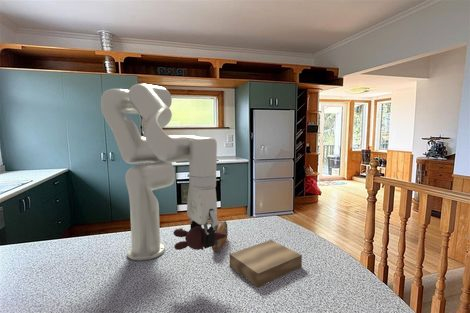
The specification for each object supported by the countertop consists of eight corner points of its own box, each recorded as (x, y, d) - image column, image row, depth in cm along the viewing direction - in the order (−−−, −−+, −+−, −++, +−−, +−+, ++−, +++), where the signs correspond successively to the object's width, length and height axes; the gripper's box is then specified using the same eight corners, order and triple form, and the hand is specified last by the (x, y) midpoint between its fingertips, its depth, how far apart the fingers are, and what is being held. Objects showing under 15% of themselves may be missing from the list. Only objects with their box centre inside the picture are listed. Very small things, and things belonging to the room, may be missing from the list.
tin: (218, 256, 87) (218, 232, 87) (209, 255, 88) (209, 231, 87) (228, 238, 102) (228, 218, 101) (220, 237, 103) (220, 217, 102)
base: (229, 265, 81) (229, 253, 80) (270, 250, 91) (271, 239, 91) (258, 287, 69) (258, 273, 69) (301, 267, 80) (301, 255, 79)
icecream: (225, 221, 77) (175, 225, 76) (225, 224, 70) (170, 229, 69) (226, 245, 76) (176, 249, 75) (227, 250, 69) (171, 255, 68)
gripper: (177, 177, 76) (177, 233, 78) (205, 189, 62) (205, 257, 64) (200, 174, 80) (199, 228, 82) (231, 185, 66) (229, 250, 68)
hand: (202, 240), depth 73 cm, fingers closed on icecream, 7 cm apart
